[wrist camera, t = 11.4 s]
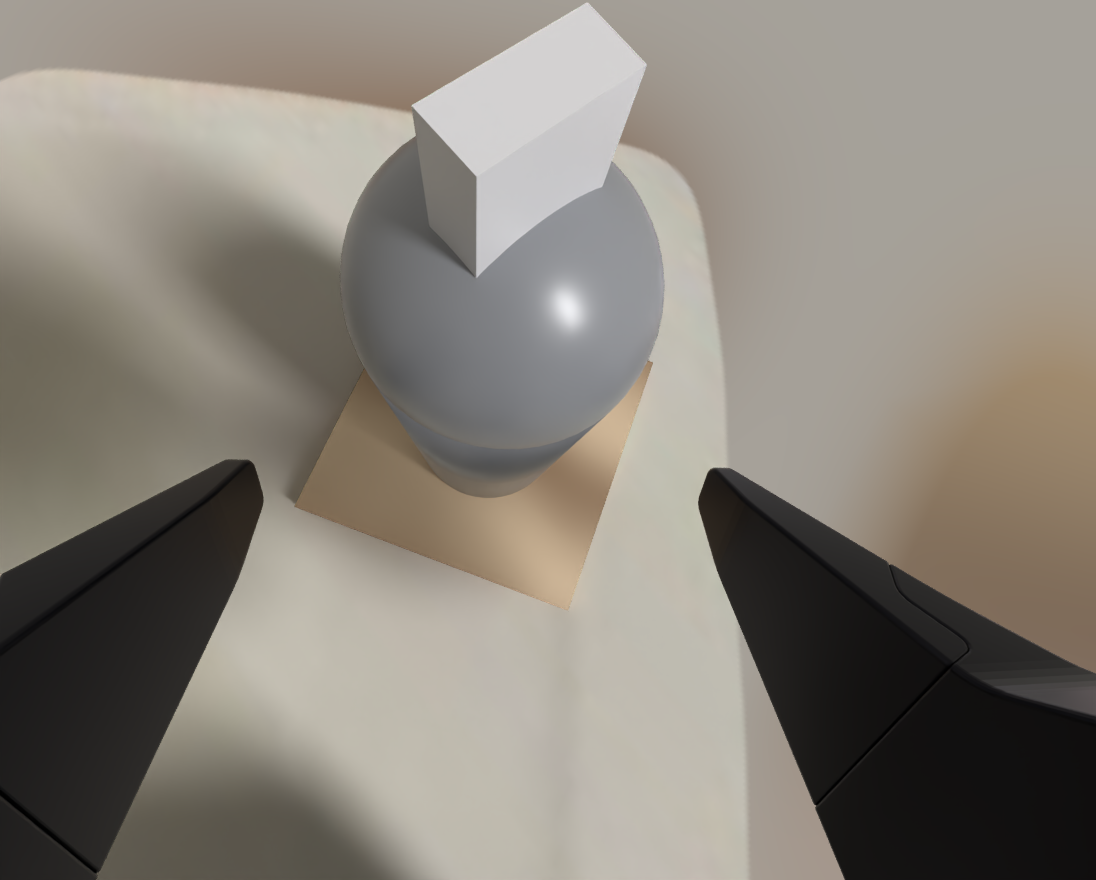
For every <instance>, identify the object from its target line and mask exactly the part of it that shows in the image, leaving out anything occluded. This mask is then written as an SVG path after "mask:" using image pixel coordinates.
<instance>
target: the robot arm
mask: <svg viewBox="0 0 1096 880" xmlns="http://www.w3.org/2000/svg"><path fill="white" fill-rule="evenodd" d="M262 506H263V492H262V489H261V486H260V482H259V479H258V475H257V472H256V468H255V466H254V464H253V463H252V462H251V461H249V460H234V459H228V460H224V461H222V462H220V463H218V464H216V465H214V466H212V467H210V468H208V469H206V470H204V471H202V472H200V473H199V474H197V475H195V476H193V477H191V478H189V479H187V480H185V481H183V482H181V483H179V484H177V485H175V486H173V487H171V488H169V489H167V490H165V491H163V492H161V493H159V494H157V495H156V496H154V497H152V498H150V499H148V500H146V501H144V502H142V503H140V504H138V505H136V506H134V507H132V508H130V509H128V510H126V511H124V512H122V513H120V514H118V515H116V516H114V517H113V518H111V519H109V520H107V521H105V522H103V523H101V524H99V525H97V526H95V527H93V528H91V529H89V530H87V531H85V532H83V533H81V534H79V535H77V536H75V537H73V538H71V539H69V540H68V541H66V542H64V543H62V544H60V545H58V546H56V547H54V548H52V549H50V550H48V551H46V552H44V553H42V554H40V555H38V556H36V557H34V558H32V559H30V560H28V561H26V562H25V563H23V564H21V565H19V566H17V567H15V568H13V569H11V570H9V571H7V572H5V573H3V574H2V575H1V577H0V880H96V879H97V874H96V873H98V872H99V871H100V869H101V867H102V865H103V863H104V861H105V859H106V857H107V855H108V853H109V851H110V848H111V846H112V844H113V842H114V840H115V838H116V836H117V834H118V832H119V829H120V827H121V825H122V823H123V821H124V819H125V817H126V815H127V813H128V810H129V808H130V806H131V804H132V802H133V800H134V798H135V796H136V794H137V791H138V789H139V787H140V785H141V783H142V781H143V779H144V777H145V775H146V773H147V770H148V768H149V766H150V764H151V762H152V760H153V758H154V756H155V754H156V751H157V749H158V747H159V745H160V743H161V741H162V739H163V737H164V735H165V732H166V730H167V728H168V726H169V724H170V722H171V720H172V718H173V716H174V713H175V711H176V709H177V707H178V705H179V703H180V701H181V699H182V697H183V694H184V692H185V690H186V688H187V686H188V684H189V682H190V680H191V678H192V676H193V673H194V671H195V669H196V667H197V665H198V663H199V661H200V659H201V657H202V654H203V652H204V650H205V648H206V646H207V644H208V642H209V640H210V638H211V635H212V633H213V631H214V629H215V627H216V625H217V623H218V621H219V619H220V616H221V614H222V612H223V610H224V608H225V606H226V604H227V602H228V600H229V597H230V595H231V593H232V591H233V589H234V587H235V584H236V582H237V580H238V578H239V575H240V572H241V570H242V567H243V564H244V561H245V558H246V555H247V552H248V549H249V546H250V543H251V540H252V537H253V534H254V531H255V528H256V525H257V522H258V519H259V516H260V513H261V510H262ZM698 506H699V511H700V514H701V518H702V521H703V525H704V528H705V532H706V535H707V539H708V542H709V546H710V549H711V552H712V556H713V559H714V563H715V566H716V569H717V571H718V574H719V577H720V579H721V582H722V584H723V587H724V589H725V591H726V594H727V596H728V599H729V601H730V603H731V606H732V608H733V611H734V613H735V615H736V618H737V620H738V623H739V625H740V628H741V630H742V632H743V635H744V637H745V639H746V642H747V644H748V647H749V649H750V652H751V654H752V656H753V659H754V661H755V663H756V666H757V668H758V671H759V673H760V676H761V678H762V680H763V683H764V685H765V688H766V690H767V693H768V695H769V697H770V700H771V702H772V705H773V707H774V709H775V712H776V714H777V717H778V719H779V721H780V724H781V726H782V729H783V731H784V733H785V736H786V738H787V741H788V743H789V746H790V748H791V750H792V753H793V755H794V757H795V760H796V762H797V765H798V767H799V769H800V772H801V775H802V777H803V779H804V782H805V784H806V787H807V789H808V791H809V794H810V796H811V799H812V801H813V803H814V805H817V806H816V807H815V809H816V811H817V814H818V816H819V819H820V821H821V824H822V826H823V828H824V831H825V833H826V835H827V838H828V840H829V843H830V845H831V848H832V850H833V852H834V855H835V857H836V860H837V862H838V864H839V867H840V869H841V872H842V874H843V876H844V879H845V880H1096V674H1095V673H1093V672H1091V671H1088V670H1086V669H1084V668H1081V667H1078V666H1077V665H1075V664H1073V663H1071V662H1069V661H1067V660H1065V659H1063V658H1061V657H1059V656H1057V655H1055V654H1053V653H1051V652H1049V651H1048V650H1046V649H1044V648H1042V647H1040V646H1038V645H1036V644H1034V643H1032V642H1031V641H1029V640H1027V639H1025V638H1023V637H1021V636H1019V635H1018V634H1016V633H1014V632H1012V631H1010V630H1008V629H1006V628H1004V627H1003V626H1001V625H999V624H997V623H995V622H993V621H991V620H989V619H987V618H986V617H984V616H982V615H980V614H978V613H976V612H974V611H973V610H971V609H969V608H967V607H965V606H963V605H962V604H960V603H958V602H956V601H954V600H952V599H951V598H949V597H947V596H945V595H943V594H942V593H940V592H938V591H936V590H935V589H933V588H931V587H930V586H928V585H926V584H924V583H922V582H921V581H919V580H917V579H916V578H914V577H912V576H911V575H909V574H907V573H905V572H904V571H902V570H900V569H899V568H897V567H896V566H894V565H889V564H888V562H887V561H885V560H884V559H882V558H880V557H878V556H877V555H875V554H873V553H872V552H870V551H868V550H867V549H865V548H863V547H862V546H860V545H858V544H857V543H855V542H853V541H852V540H850V539H848V538H847V537H845V536H843V535H841V534H840V533H838V532H837V531H835V530H833V529H831V528H830V527H828V526H826V525H825V524H823V523H821V522H820V521H818V520H816V519H815V518H813V517H811V516H810V515H808V514H806V513H805V512H803V511H801V510H800V509H798V508H796V507H795V506H793V505H791V504H789V503H788V502H786V501H785V500H783V499H781V498H779V497H778V496H776V495H774V494H773V493H771V492H769V491H768V490H766V489H764V488H763V487H761V486H759V485H758V484H756V483H754V482H753V481H751V480H749V479H748V478H746V477H744V476H742V475H741V474H739V473H738V472H736V471H734V470H732V469H730V468H712V469H710V470H709V472H708V473H707V476H706V479H705V482H704V484H703V487H702V490H701V493H700V496H699V501H698Z"/></svg>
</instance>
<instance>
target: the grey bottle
mask: <svg viewBox="0 0 1096 880" xmlns="http://www.w3.org/2000/svg"><path fill="white" fill-rule="evenodd" d="M646 66H647V64H646V63H645V62H644V61H643V60H642V59H641V58H640V57H639V56H638V55H637V54H636V53H635V52H634V51H633V49H632V48H631V47H630V46H629V45H628V44H627V43H626V42H625V41H624V40H623V39H622V38H621V37H620V36H619V35H618V34H617V33H616V32H615V31H614V30H613V29H612V27H611V26H610V25H609V24H608V23H607V22H606V21H605V20H604V19H603V18H602V17H601V16H600V15H599V14H598V13H597V12H596V11H595V10H594V9H593V8H592V6H590V4H589V3H588V2H587V3H585V4H584V5H582V6H580V7H579V8H577V9H575V10H574V11H572V12H570V13H568V14H567V15H565V16H563V17H562V18H560V19H558V20H556V21H555V22H553V23H551V24H550V25H548V26H546V27H544V28H543V29H541V30H539V31H538V32H536V33H534V34H533V35H531V36H529V37H528V38H526V39H524V40H522V41H521V42H519V43H517V44H516V45H514V46H512V47H510V48H509V49H507V50H505V51H504V52H502V53H500V54H499V55H497V56H495V57H493V58H492V59H490V60H488V61H486V62H485V63H483V64H481V65H480V66H478V67H476V68H475V69H473V70H471V71H470V72H468V73H466V74H464V75H463V76H461V77H459V78H457V79H456V80H454V81H452V82H451V83H449V84H447V85H446V86H444V87H442V88H440V89H439V90H437V91H435V92H434V93H432V94H430V95H429V96H427V97H425V98H423V99H422V100H420V101H418V102H417V103H415V104H413V105H412V113H413V120H414V126H415V133H416V136H415V137H414V138H412V139H411V140H409V141H408V142H407V143H405V144H404V145H402V146H401V147H400V148H399V149H398V150H397V151H396V152H395V153H394V154H393V155H391V156H390V157H389V158H388V159H387V160H386V161H385V162H384V163H383V164H382V165H381V167H380V168H379V169H378V170H377V172H376V173H375V174H374V175H373V177H372V178H371V179H370V180H369V182H368V184H367V185H366V187H365V189H364V190H363V192H362V194H361V196H360V197H359V199H358V202H357V204H356V206H355V208H354V210H353V213H352V215H351V218H350V221H349V223H348V226H347V230H346V234H345V238H344V243H343V248H342V254H341V265H340V289H341V300H342V308H343V313H344V317H345V321H346V326H347V330H348V332H349V335H350V338H351V340H352V343H353V345H354V348H355V350H356V352H357V355H358V357H359V359H360V361H361V362H362V364H363V366H364V368H365V369H366V371H367V373H368V375H369V376H370V378H371V379H372V381H373V382H374V384H375V385H376V387H377V388H378V390H379V391H380V393H381V394H382V396H383V397H384V399H385V400H386V402H387V403H388V405H389V406H390V408H391V409H392V411H393V412H394V414H395V415H396V417H397V418H398V420H399V421H400V423H401V424H402V426H403V427H404V429H405V430H406V432H407V433H408V435H409V436H410V438H411V439H412V441H413V442H414V444H415V445H416V447H417V448H418V450H419V451H420V453H421V454H422V455H423V457H424V458H425V460H426V461H427V463H428V464H429V466H430V467H431V469H432V470H433V471H434V473H435V474H436V475H437V476H438V477H439V478H440V479H441V480H442V481H443V482H445V483H446V484H447V485H448V486H450V487H452V488H453V489H455V490H457V491H459V492H461V493H464V494H466V495H470V496H474V497H481V498H496V497H503V496H506V495H510V494H513V493H515V492H518V491H520V490H522V489H523V488H525V487H527V486H528V485H529V484H531V483H532V482H533V481H535V480H536V479H537V478H538V477H539V476H540V475H541V474H542V473H543V472H544V471H546V470H547V469H548V468H549V467H550V466H551V465H552V464H553V463H554V462H555V461H557V460H558V459H559V458H560V457H561V456H562V455H563V454H564V453H565V452H566V451H568V450H569V449H570V448H571V447H572V446H573V445H574V444H575V443H576V442H577V441H579V440H580V439H581V438H582V437H583V436H584V435H585V434H586V433H587V432H589V431H590V430H591V429H592V428H593V427H594V426H595V425H596V424H597V423H598V422H600V421H601V420H602V419H603V418H604V417H605V416H606V415H607V414H608V413H609V412H610V411H611V410H612V409H613V408H614V407H615V406H616V405H617V404H618V403H619V402H620V401H621V400H622V399H623V398H624V397H625V395H626V394H627V393H628V392H629V390H630V389H631V387H632V386H633V385H634V383H635V382H636V381H637V379H638V378H639V376H640V375H641V373H642V371H643V369H644V367H645V365H646V363H647V361H648V359H649V357H650V354H651V352H652V349H653V346H654V344H655V341H656V338H657V335H658V332H659V327H660V322H661V318H662V311H663V301H664V272H663V263H662V256H661V251H660V246H659V242H658V238H657V235H656V232H655V229H654V226H653V223H652V221H651V218H650V216H649V214H648V212H647V210H646V208H645V206H644V204H643V202H642V200H641V198H640V196H639V194H638V193H637V191H636V190H635V188H634V187H633V185H632V184H631V182H630V181H629V180H628V178H627V177H626V176H625V175H624V174H623V172H622V171H621V170H620V169H619V168H618V167H617V166H616V165H615V164H614V163H613V162H612V159H613V156H614V153H615V151H616V148H617V145H618V142H619V140H620V137H621V134H622V131H623V128H624V126H625V123H626V120H627V118H628V115H629V112H630V110H631V107H632V104H633V101H634V99H635V96H636V93H637V90H638V88H639V85H640V82H641V79H642V77H643V74H644V71H645V68H646Z"/></svg>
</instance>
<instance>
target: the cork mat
mask: <svg viewBox="0 0 1096 880" xmlns="http://www.w3.org/2000/svg"><path fill="white" fill-rule="evenodd" d="M652 364H653V363H652V362H650V361H647V363H646V365H645V367H644V369H643V371H642V373H641V375H640V376H639V378H638V379H637V381H636V382H635V383H634V385H633V386H632V387H631V389H630V390H629V392H628V393H627V394H626V395H625V397H624V398H623V399H622V400H621V401H620V402H619V403H618V404H617V405H616V406H615V407H614V408H613V409H612V410H611V411H610V412H609V413H608V414H607V415H606V416H605V417H604V418H603V419H602V420H601V421H600V422H598V423H597V424H596V425H595V426H594V427H593V428H592V429H591V430H590V431H589V432H587V433H586V434H585V435H584V436H583V437H582V438H581V439H580V440H579V441H577V442H576V443H575V444H574V445H573V446H572V447H571V448H570V449H569V450H568V451H566V452H565V453H564V454H563V455H562V456H561V457H560V458H559V459H558V460H557V461H555V462H554V463H553V464H552V465H551V466H550V467H549V468H548V469H547V470H546V471H544V472H543V473H542V474H541V475H540V476H539V477H538V478H537V479H536V480H535V481H533V482H532V483H531V484H529V485H528V486H527V487H525V488H523V489H522V490H520V491H518V492H515V493H513V494H510V495H506V496H503V497H496V498H481V497H474V496H470V495H466V494H464V493H461V492H459V491H457V490H455V489H453V488H452V487H450V486H448V485H447V484H446V483H445V482H443V481H442V480H441V479H440V478H439V477H438V476H437V475H436V474H435V473H434V471H433V470H432V469H431V467H430V466H429V464H428V463H427V461H426V460H425V458H424V457H423V455H422V454H421V453H420V451H419V450H418V448H417V447H416V445H415V444H414V442H413V441H412V439H411V438H410V436H409V435H408V433H407V432H406V430H405V429H404V427H403V426H402V424H401V423H400V421H399V420H398V418H397V417H396V415H395V414H394V412H393V411H392V409H391V408H390V406H389V405H388V403H387V402H386V400H385V399H384V397H383V396H382V394H381V393H380V391H379V390H378V388H377V387H376V385H375V384H374V382H373V381H372V379H371V378H370V376H369V375H368V373H367V371H366V369H365V368H364V370H363V372H362V374H361V376H360V377H359V379H358V381H357V383H356V385H355V387H354V389H353V391H352V393H351V395H350V397H349V399H348V401H347V403H346V405H345V407H344V409H343V411H342V413H341V415H340V417H339V419H338V421H337V423H336V425H335V427H334V429H333V431H332V433H331V435H330V437H329V439H328V441H327V443H326V445H325V447H324V449H323V451H322V453H321V455H320V457H319V459H318V461H317V463H316V465H315V467H314V468H313V470H312V472H311V474H310V476H309V478H308V480H307V482H306V484H305V486H304V488H303V490H302V492H301V494H300V496H299V498H298V500H297V502H296V504H295V506H294V507H297V508H299V509H302V510H305V511H307V512H310V513H312V514H315V515H318V516H320V517H323V518H326V519H328V520H331V521H333V522H336V523H339V524H341V525H344V526H347V527H349V528H352V529H355V530H357V531H360V532H362V533H365V534H368V535H370V536H373V537H376V538H378V539H381V540H383V541H386V542H389V543H391V544H394V545H397V546H399V547H402V548H404V549H407V550H410V551H412V552H415V553H418V554H420V555H423V556H426V557H428V558H431V559H433V560H436V561H439V562H441V563H444V564H447V565H449V566H452V567H454V568H457V569H460V570H462V571H465V572H468V573H470V574H473V575H476V576H478V577H481V578H483V579H486V580H489V581H491V582H494V583H497V584H499V585H502V586H504V587H507V588H510V589H512V590H515V591H518V592H520V593H523V594H526V595H528V596H531V597H533V598H536V599H539V600H541V601H544V602H547V603H549V604H552V605H554V606H557V607H560V608H562V609H565V610H568V609H569V606H570V603H571V600H572V597H573V594H574V591H575V588H576V585H577V583H578V580H579V577H580V574H581V571H582V568H583V565H584V562H585V559H586V556H587V553H588V551H589V548H590V545H591V542H592V539H593V536H594V533H595V530H596V527H597V524H598V521H599V518H600V516H601V513H602V510H603V507H604V504H605V501H606V498H607V495H608V492H609V489H610V486H611V484H612V481H613V478H614V475H615V472H616V469H617V466H618V463H619V460H620V457H621V454H622V452H623V449H624V446H625V443H626V440H627V437H628V434H629V431H630V428H631V425H632V422H633V420H634V417H635V414H636V411H637V408H638V405H639V402H640V399H641V396H642V393H643V390H644V387H645V385H646V382H647V379H648V376H649V373H650V370H651V367H652Z"/></svg>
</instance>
